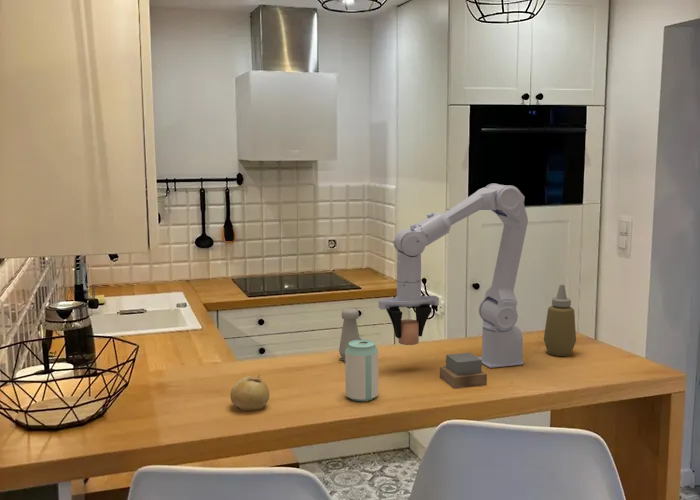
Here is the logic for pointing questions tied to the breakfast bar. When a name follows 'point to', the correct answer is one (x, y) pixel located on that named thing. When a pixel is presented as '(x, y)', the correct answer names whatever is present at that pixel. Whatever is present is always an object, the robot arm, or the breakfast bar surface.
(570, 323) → the squeeze bottle
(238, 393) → the onion
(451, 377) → the walnut slab
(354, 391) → the can
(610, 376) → the breakfast bar surface
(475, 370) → the charcoal block
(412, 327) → the salmon cylinder
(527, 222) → the robot arm
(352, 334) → the salt shaker
